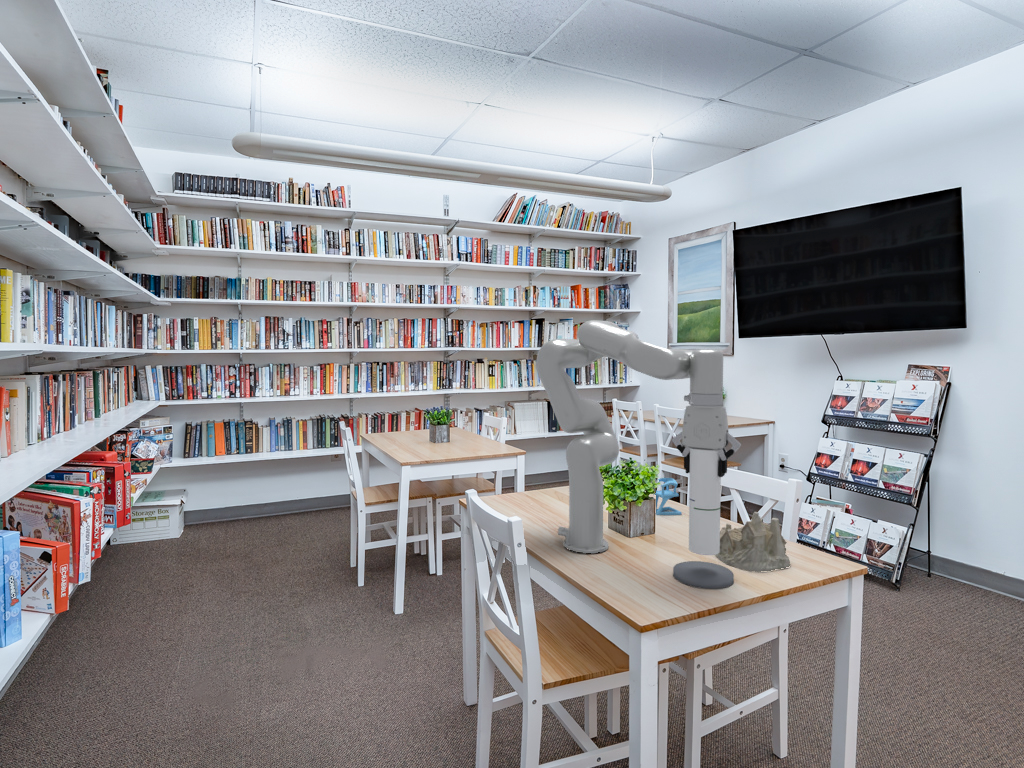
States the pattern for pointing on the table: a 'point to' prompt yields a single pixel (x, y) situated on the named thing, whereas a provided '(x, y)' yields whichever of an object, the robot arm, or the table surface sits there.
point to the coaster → (703, 575)
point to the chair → (666, 497)
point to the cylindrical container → (704, 502)
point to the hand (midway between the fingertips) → (705, 473)
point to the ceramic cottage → (754, 546)
